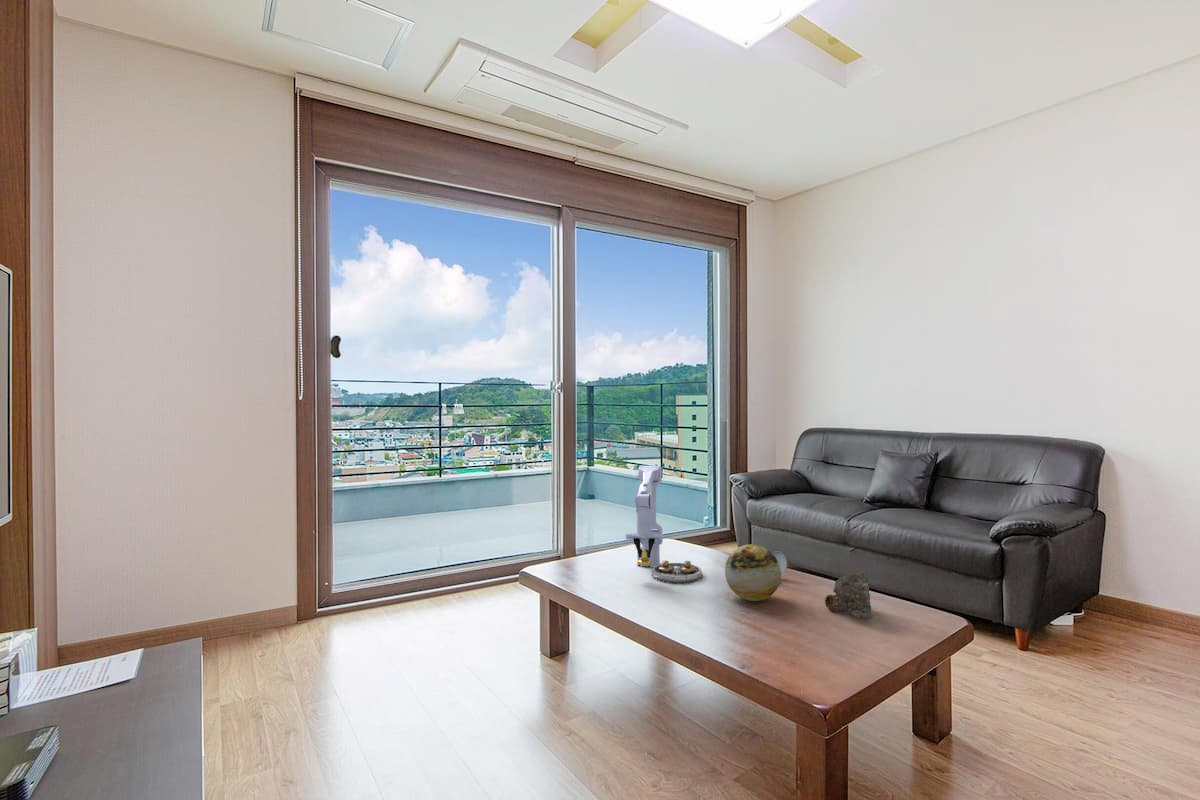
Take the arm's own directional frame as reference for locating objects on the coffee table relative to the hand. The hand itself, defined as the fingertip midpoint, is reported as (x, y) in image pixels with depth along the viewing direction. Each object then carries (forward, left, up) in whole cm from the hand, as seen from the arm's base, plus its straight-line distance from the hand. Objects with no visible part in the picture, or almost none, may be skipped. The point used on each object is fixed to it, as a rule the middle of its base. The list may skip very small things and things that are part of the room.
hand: (644, 557), depth 246 cm
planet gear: (0, 0, -3) cm, 3 cm away
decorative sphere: (+45, -2, -10) cm, 46 cm away
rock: (+77, -1, -10) cm, 78 cm away
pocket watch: (+43, +22, -10) cm, 50 cm away
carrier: (+9, +13, -10) cm, 18 cm away
